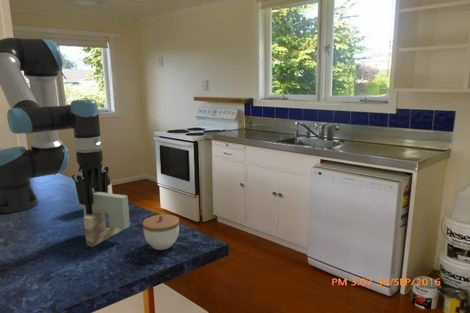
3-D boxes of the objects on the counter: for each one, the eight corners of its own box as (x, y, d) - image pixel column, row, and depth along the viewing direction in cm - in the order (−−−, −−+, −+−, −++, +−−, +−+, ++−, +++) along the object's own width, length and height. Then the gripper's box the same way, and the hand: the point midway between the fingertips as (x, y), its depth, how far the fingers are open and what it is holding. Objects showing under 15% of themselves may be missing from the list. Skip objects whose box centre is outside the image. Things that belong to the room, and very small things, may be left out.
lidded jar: (163, 256, 102) (161, 225, 100) (136, 248, 108) (134, 218, 106) (187, 242, 111) (186, 213, 109) (161, 234, 117) (159, 207, 115)
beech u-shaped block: (93, 246, 109) (90, 218, 107) (86, 245, 110) (83, 217, 108) (127, 226, 123) (125, 201, 121) (121, 225, 124) (119, 200, 122)
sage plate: (84, 222, 118) (81, 192, 116) (90, 219, 120) (87, 190, 118) (124, 229, 112) (122, 198, 110) (129, 226, 114) (127, 195, 112)
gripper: (78, 155, 104) (87, 232, 109) (115, 146, 118) (121, 214, 123) (59, 154, 107) (68, 229, 112) (97, 145, 121) (104, 212, 126)
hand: (96, 221), depth 117 cm, fingers closed on sage plate, 2 cm apart
